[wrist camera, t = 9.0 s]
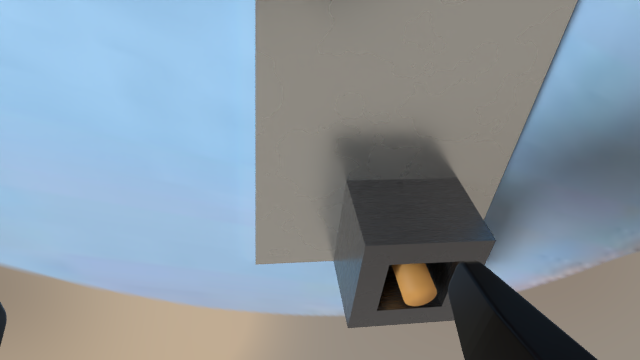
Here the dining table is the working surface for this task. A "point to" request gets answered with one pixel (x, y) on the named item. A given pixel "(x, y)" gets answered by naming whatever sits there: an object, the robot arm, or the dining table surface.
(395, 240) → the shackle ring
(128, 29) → the dining table surface
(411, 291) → the post
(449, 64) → the tie plate
